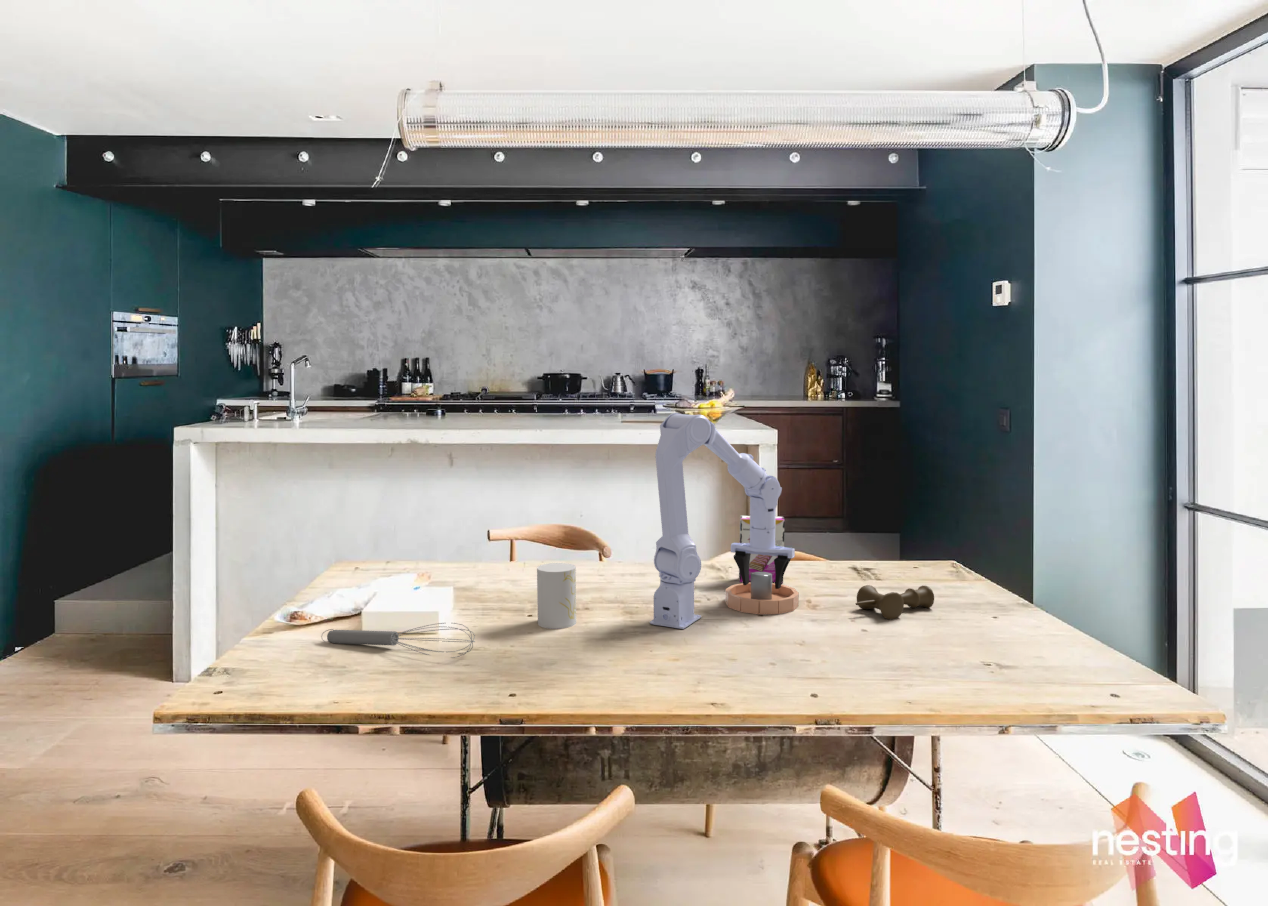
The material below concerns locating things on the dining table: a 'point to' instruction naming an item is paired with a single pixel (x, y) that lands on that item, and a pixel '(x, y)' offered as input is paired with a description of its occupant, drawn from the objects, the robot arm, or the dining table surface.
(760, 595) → the grey cylinder
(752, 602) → the bowl
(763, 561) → the candy bar box
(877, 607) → the kendama
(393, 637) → the kitchen whisk
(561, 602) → the white cylinder
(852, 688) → the dining table surface
